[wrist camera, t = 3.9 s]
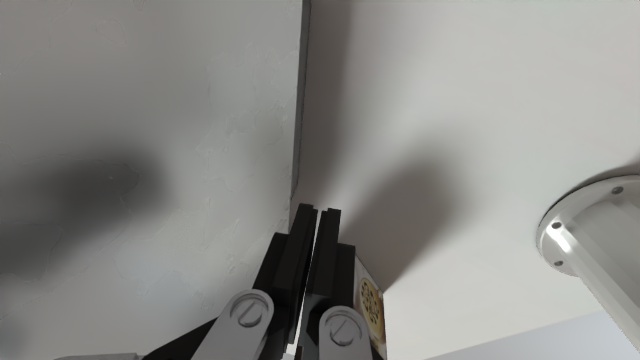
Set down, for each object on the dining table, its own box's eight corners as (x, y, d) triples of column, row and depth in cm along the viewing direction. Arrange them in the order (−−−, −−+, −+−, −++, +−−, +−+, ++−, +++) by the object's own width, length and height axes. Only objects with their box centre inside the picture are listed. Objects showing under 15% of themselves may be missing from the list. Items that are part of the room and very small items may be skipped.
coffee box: (311, 263, 38) (279, 408, 24) (354, 249, 35) (346, 402, 21) (344, 304, 41) (332, 452, 27) (385, 294, 39) (395, 450, 25)
